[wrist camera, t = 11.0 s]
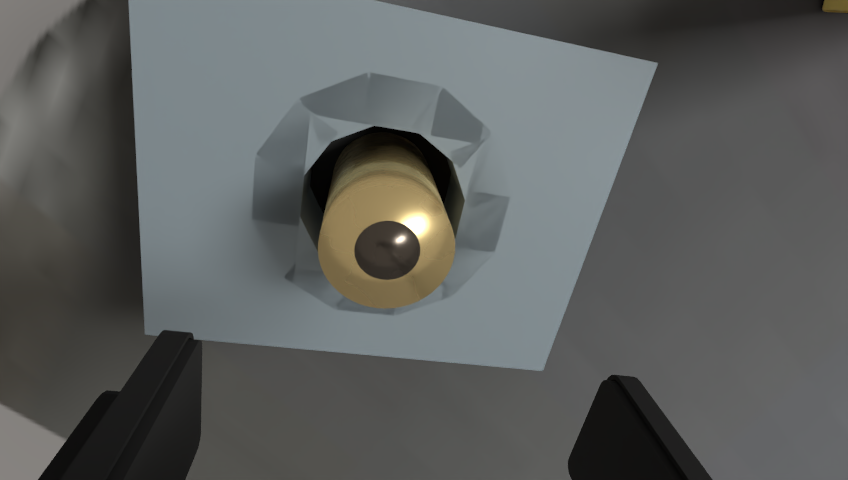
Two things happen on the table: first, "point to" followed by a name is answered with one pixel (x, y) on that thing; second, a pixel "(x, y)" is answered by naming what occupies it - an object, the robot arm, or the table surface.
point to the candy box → (835, 6)
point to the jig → (349, 113)
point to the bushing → (384, 224)
